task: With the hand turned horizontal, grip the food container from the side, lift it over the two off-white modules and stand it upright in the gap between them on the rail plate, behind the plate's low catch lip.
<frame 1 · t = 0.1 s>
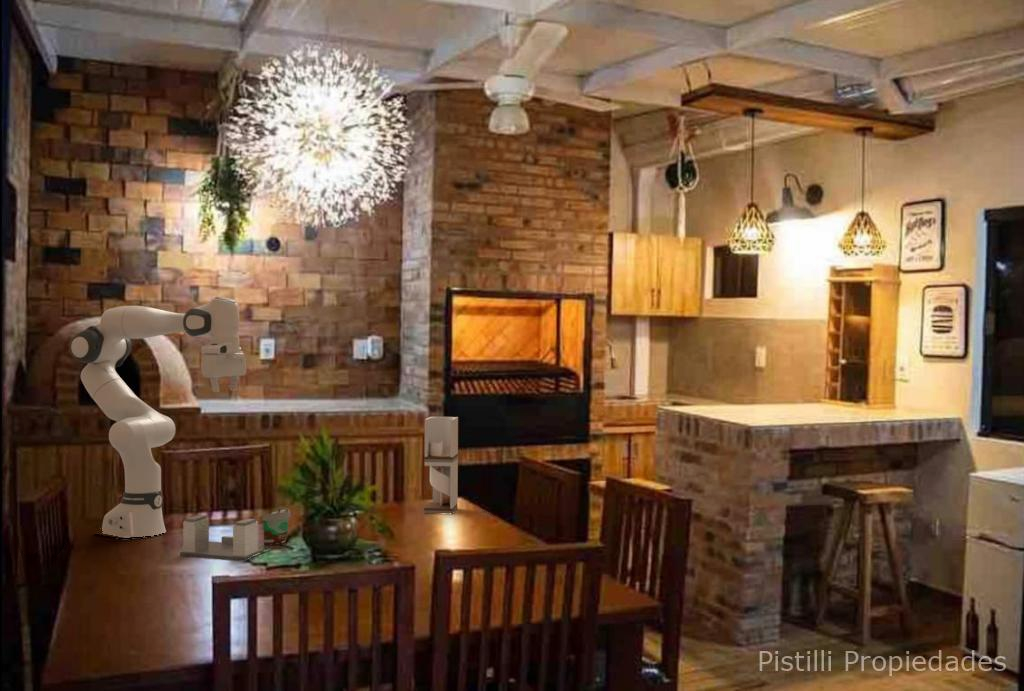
hand: (224, 390, 293), 48 cm above the table, tool pointing down, fingers open, 8 cm apart
food container: (279, 542, 292), on the table
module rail: (225, 553, 276), on the table
white tiered stand: (441, 511, 345), on the table
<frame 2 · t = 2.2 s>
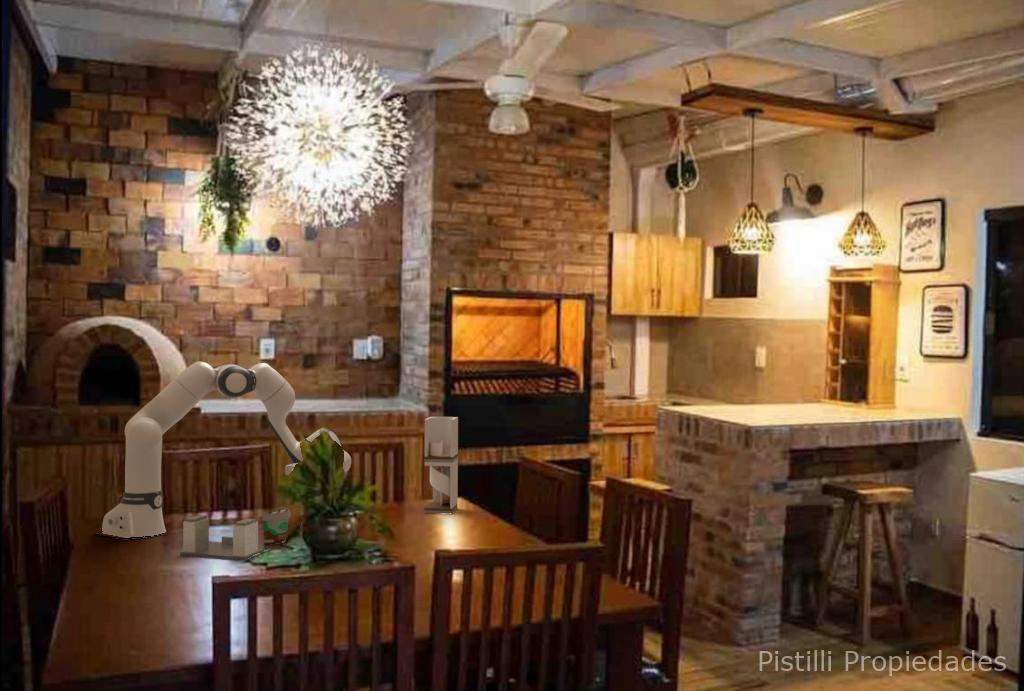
hand: (303, 473, 306), 20 cm above the table, tool horizontal, fingers open, 8 cm apart
nothing on the table moved.
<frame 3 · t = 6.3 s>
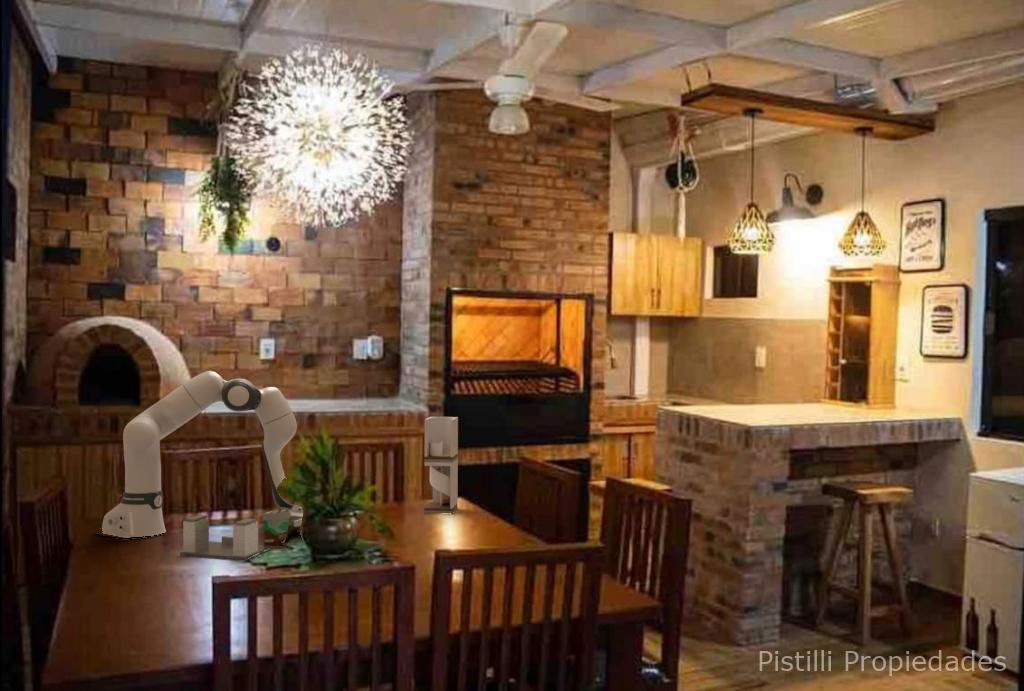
hand: (282, 523, 294), 6 cm above the table, tool horizontal, fingers open, 6 cm apart
food container: (279, 542, 292), on the table, touching gripper
everything else where it was.
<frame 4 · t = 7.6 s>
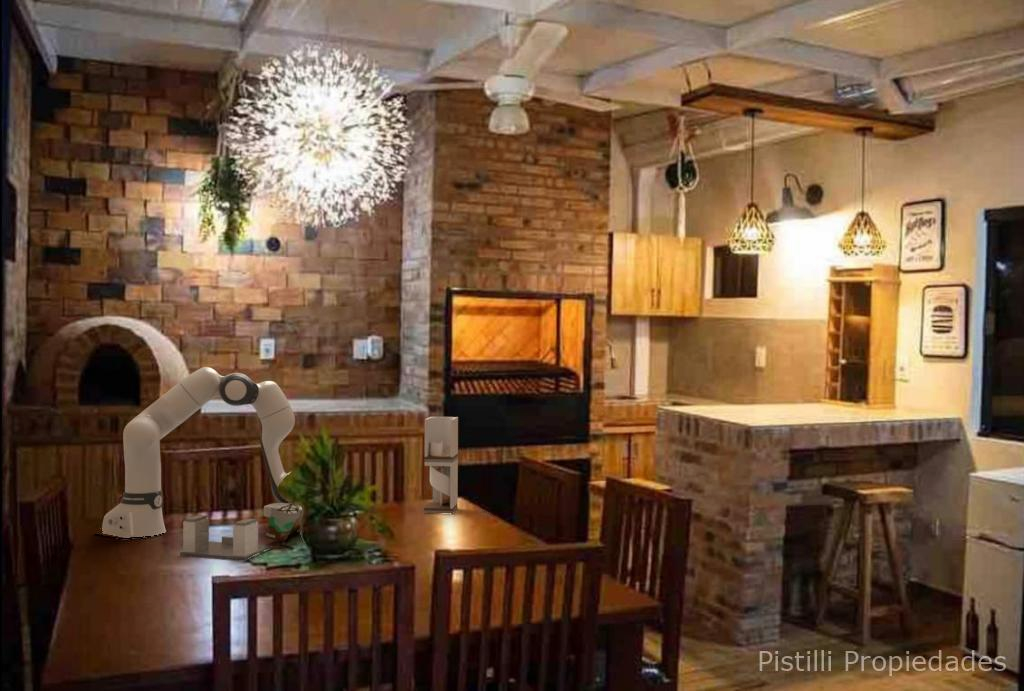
hand: (282, 516, 294), 8 cm above the table, tool horizontal, fingers closed on food container
food container: (280, 537, 292), point 1 cm above the table, touching gripper
everything else where it was.
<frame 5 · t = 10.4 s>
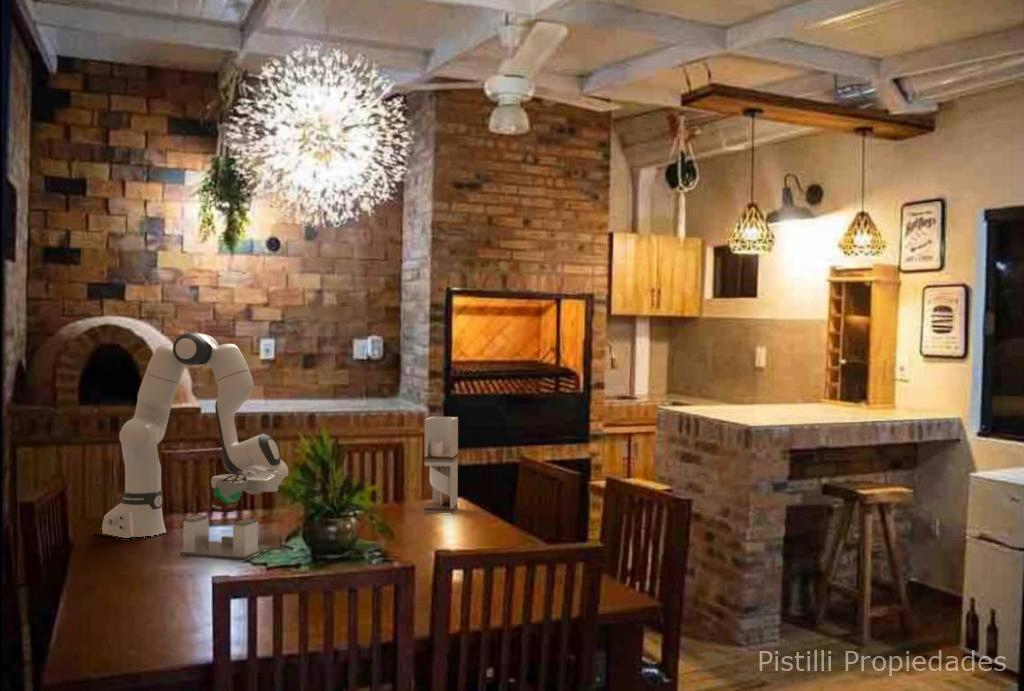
hand: (229, 486, 278), 20 cm above the table, tool horizontal, fingers closed on food container
food container: (228, 509, 277), point 13 cm above the table, touching gripper
everything else where it was.
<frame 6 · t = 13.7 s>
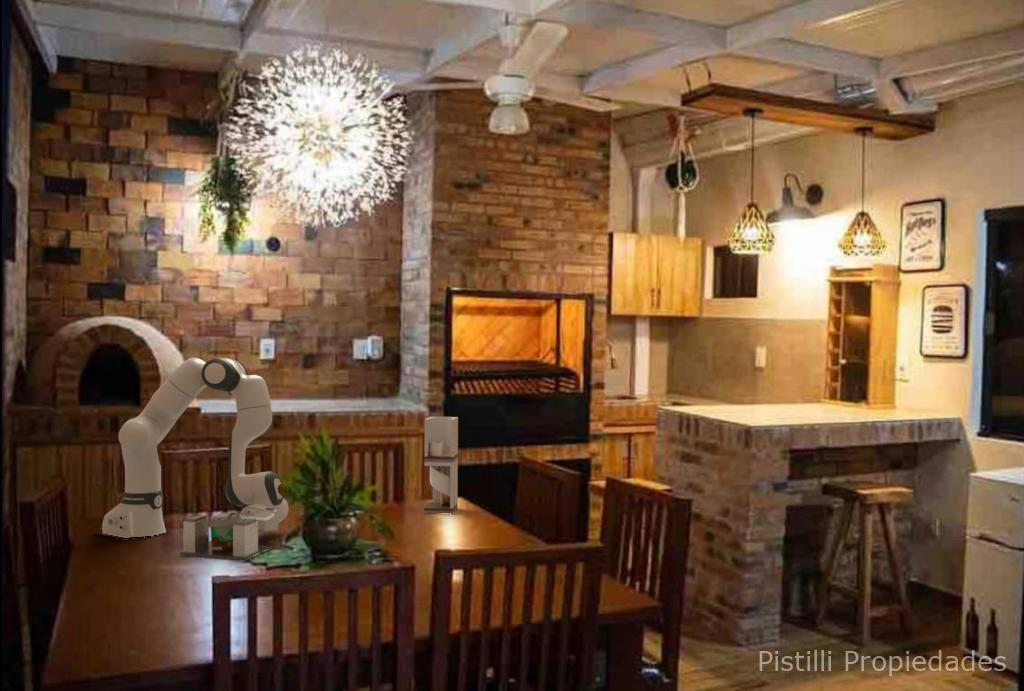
hand: (229, 526, 278), 8 cm above the table, tool horizontal, fingers open, 5 cm apart
food container: (229, 549, 277), point 1 cm above the table, touching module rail
everything else where it was.
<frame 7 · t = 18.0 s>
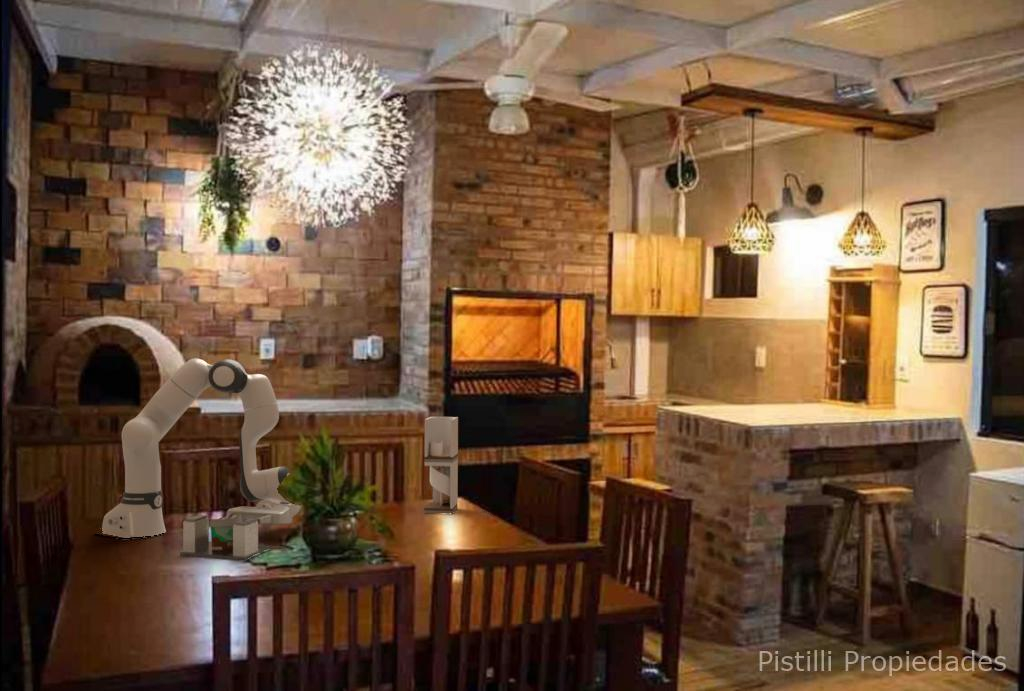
hand: (245, 519, 287), 8 cm above the table, tool horizontal, fingers open, 8 cm apart
nothing on the table moved.
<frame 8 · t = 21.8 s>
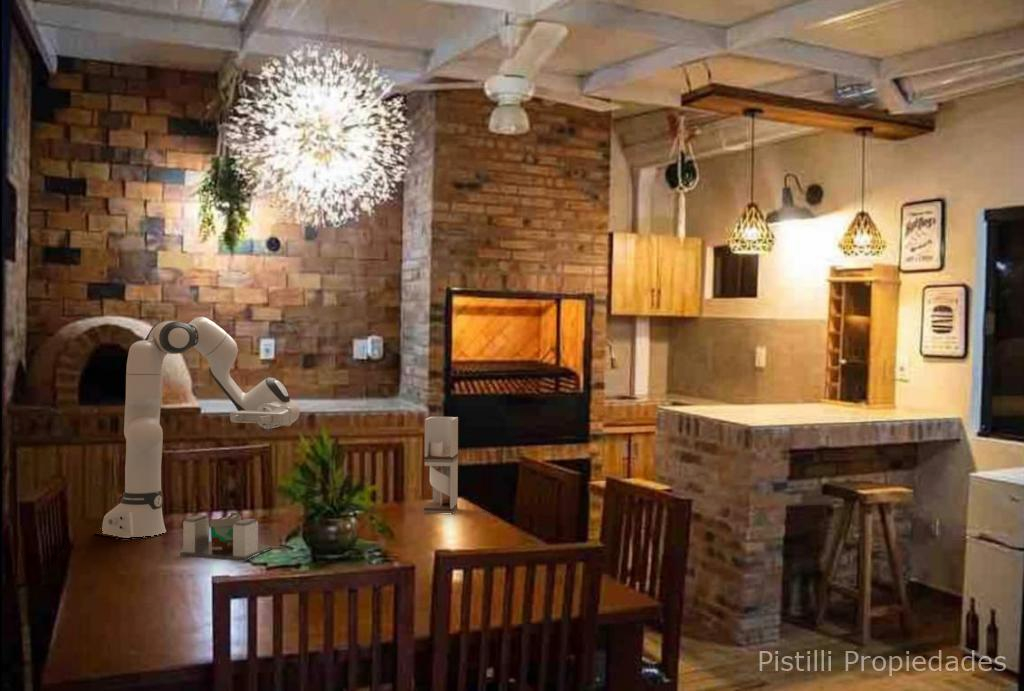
hand: (247, 419, 304), 38 cm above the table, tool horizontal, fingers open, 8 cm apart
nothing on the table moved.
at the end: food container 1.3 cm off-centre on the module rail, point 0.8 cm above the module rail's base; food container tilted 0°; the gripper is holding nothing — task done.
